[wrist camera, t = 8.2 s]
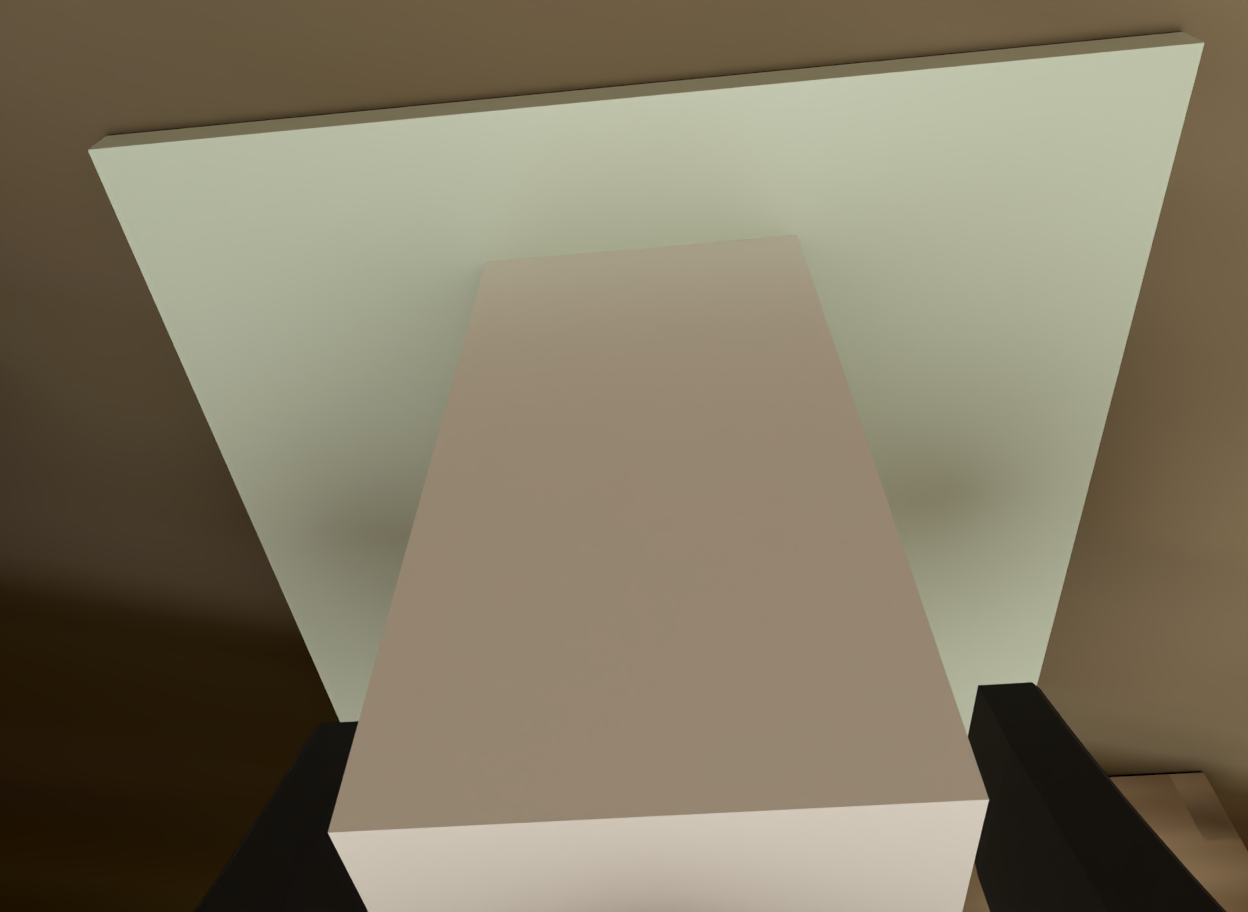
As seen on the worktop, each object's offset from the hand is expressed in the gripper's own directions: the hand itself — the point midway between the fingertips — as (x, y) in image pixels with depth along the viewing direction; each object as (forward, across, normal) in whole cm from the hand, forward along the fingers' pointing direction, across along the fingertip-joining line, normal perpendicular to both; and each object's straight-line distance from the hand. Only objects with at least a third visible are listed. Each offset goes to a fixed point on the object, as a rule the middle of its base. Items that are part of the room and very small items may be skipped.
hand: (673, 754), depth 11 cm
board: (+5, 0, 0) cm, 5 cm away
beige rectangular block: (+4, 0, 0) cm, 4 cm away
